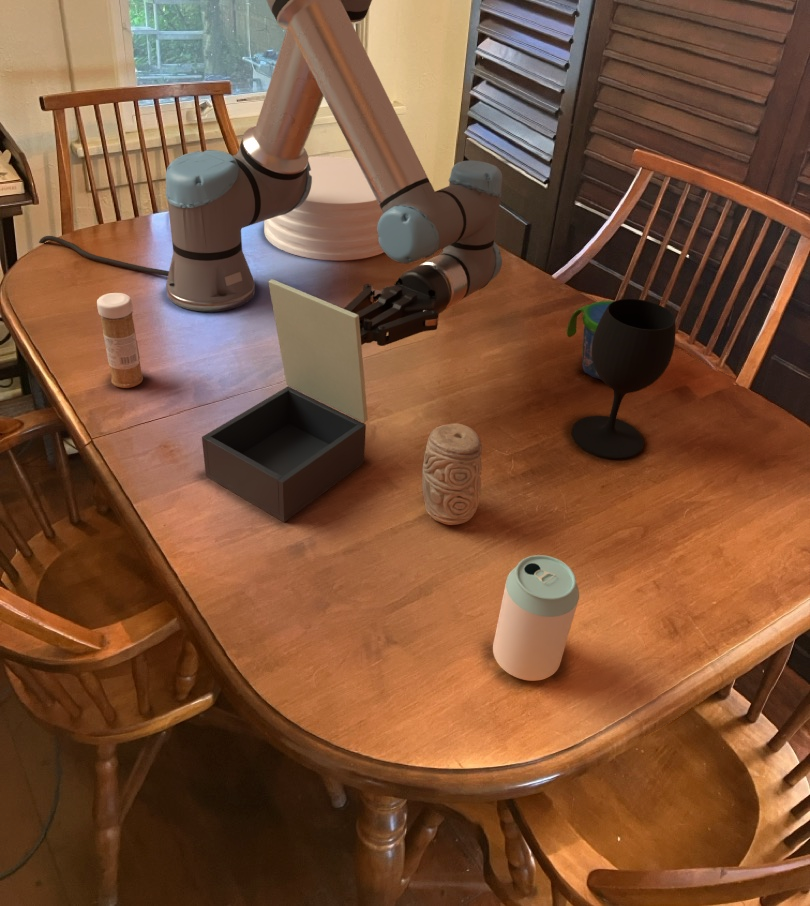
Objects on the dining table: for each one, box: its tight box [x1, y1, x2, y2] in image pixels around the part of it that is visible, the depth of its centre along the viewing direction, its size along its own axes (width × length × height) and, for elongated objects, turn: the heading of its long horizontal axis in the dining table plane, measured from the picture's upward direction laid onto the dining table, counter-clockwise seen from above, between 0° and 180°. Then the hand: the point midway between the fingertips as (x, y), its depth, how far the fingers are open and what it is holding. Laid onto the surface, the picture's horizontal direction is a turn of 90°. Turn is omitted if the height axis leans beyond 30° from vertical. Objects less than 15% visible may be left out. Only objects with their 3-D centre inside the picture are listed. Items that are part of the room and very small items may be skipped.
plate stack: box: [263, 156, 385, 261], centre depth 165 cm, size 28×28×12 cm
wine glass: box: [571, 298, 677, 461], centre depth 110 cm, size 10×10×20 cm
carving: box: [421, 422, 483, 526], centre depth 97 cm, size 6×8×12 cm
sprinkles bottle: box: [96, 292, 144, 389], centre depth 115 cm, size 5×5×14 cm
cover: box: [268, 278, 369, 424], centre depth 100 cm, size 16×14×1 cm
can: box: [492, 554, 580, 682], centre depth 80 cm, size 7×7×12 cm
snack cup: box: [566, 300, 615, 382], centre depth 128 cm, size 16×10×10 cm
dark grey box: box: [201, 385, 367, 523], centre depth 103 cm, size 16×14×6 cm
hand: (325, 349), depth 101 cm, fingers closed
